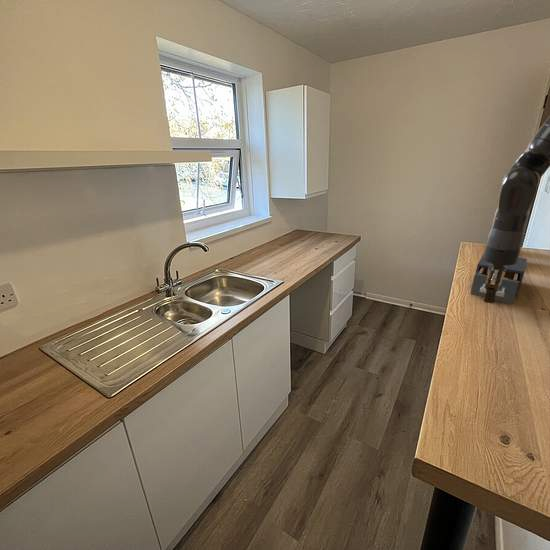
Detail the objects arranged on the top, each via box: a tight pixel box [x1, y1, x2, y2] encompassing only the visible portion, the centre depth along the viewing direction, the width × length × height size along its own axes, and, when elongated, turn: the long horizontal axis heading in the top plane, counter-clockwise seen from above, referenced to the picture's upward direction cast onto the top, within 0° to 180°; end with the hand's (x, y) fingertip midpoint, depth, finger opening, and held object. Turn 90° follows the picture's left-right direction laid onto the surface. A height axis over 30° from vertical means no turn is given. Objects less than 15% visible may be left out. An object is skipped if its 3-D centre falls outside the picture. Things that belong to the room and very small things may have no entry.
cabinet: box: [475, 253, 528, 298], centre depth 105 cm, size 15×13×9 cm
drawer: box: [469, 267, 520, 305], centre depth 97 cm, size 19×11×7 cm, turn 140°
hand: (488, 301), depth 87 cm, fingers closed
